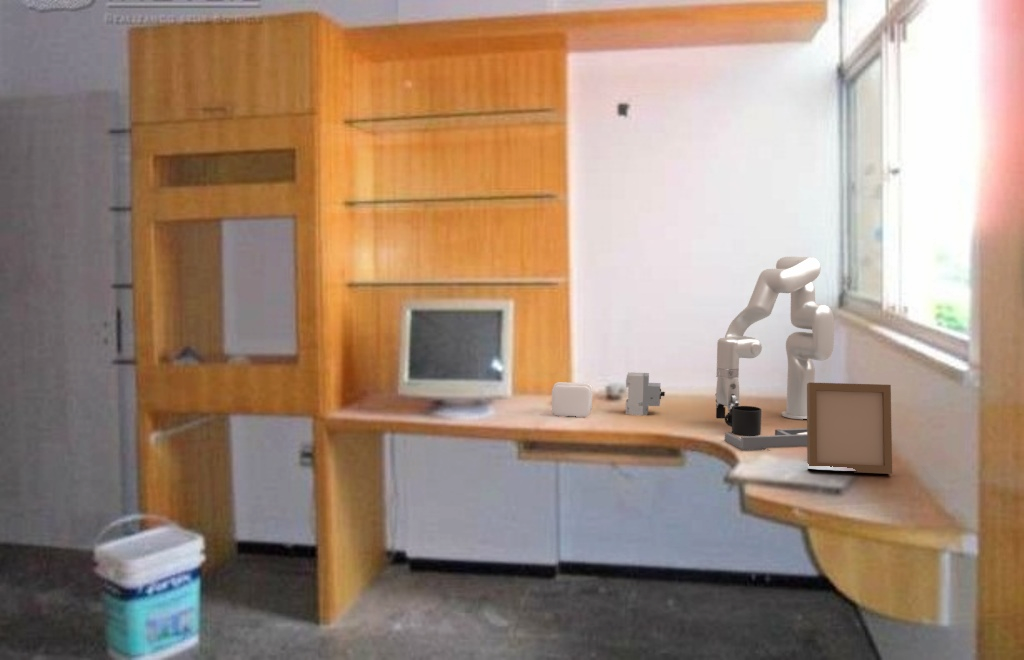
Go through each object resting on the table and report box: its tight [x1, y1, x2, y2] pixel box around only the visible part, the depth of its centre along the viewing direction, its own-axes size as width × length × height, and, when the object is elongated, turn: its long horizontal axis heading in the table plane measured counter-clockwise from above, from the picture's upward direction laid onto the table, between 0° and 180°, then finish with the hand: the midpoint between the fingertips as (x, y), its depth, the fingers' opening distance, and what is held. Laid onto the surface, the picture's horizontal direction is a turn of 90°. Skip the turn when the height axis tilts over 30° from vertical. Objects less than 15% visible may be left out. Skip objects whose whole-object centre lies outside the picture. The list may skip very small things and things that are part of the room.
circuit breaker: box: [625, 372, 666, 416], centre depth 321 cm, size 8×14×15 cm, turn 78°
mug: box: [724, 405, 762, 437], centre depth 287 cm, size 9×12×9 cm
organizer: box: [724, 427, 807, 451], centre depth 274 cm, size 31×14×4 cm, turn 100°
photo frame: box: [806, 382, 893, 475], centre depth 243 cm, size 15×22×25 cm
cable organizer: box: [551, 381, 593, 418], centre depth 320 cm, size 15×11×12 cm
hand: (726, 421), depth 300 cm, fingers open, 9 cm apart
